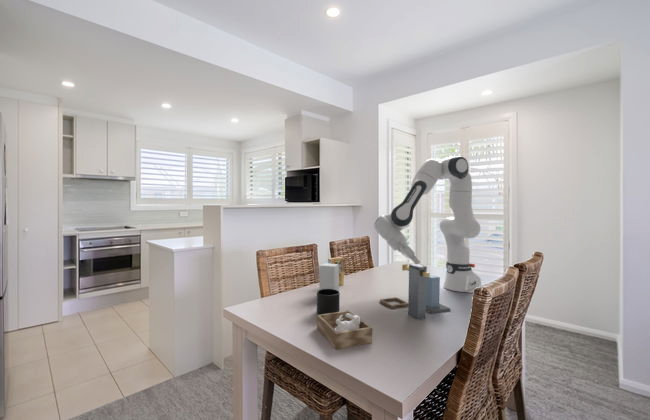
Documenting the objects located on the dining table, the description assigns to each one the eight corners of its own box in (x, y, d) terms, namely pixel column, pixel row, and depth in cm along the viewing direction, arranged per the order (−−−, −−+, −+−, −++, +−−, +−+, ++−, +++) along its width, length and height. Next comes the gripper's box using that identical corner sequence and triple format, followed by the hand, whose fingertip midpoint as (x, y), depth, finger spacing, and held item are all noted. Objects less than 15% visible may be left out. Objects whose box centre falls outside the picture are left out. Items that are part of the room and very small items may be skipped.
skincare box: (339, 295, 152) (339, 264, 152) (333, 298, 146) (333, 266, 146) (324, 292, 156) (324, 262, 155) (318, 296, 150) (318, 264, 150)
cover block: (432, 303, 138) (432, 274, 138) (439, 306, 134) (439, 277, 134) (424, 304, 136) (424, 275, 136) (431, 307, 132) (431, 277, 132)
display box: (348, 323, 117) (349, 310, 117) (372, 342, 101) (372, 327, 101) (317, 328, 112) (317, 315, 112) (336, 349, 96) (336, 333, 96)
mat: (430, 302, 143) (430, 299, 143) (450, 310, 132) (450, 308, 132) (413, 304, 139) (413, 302, 139) (432, 313, 128) (432, 311, 128)
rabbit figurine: (365, 334, 108) (365, 307, 108) (368, 344, 101) (368, 316, 100) (331, 334, 108) (331, 307, 108) (332, 344, 101) (332, 316, 100)
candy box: (339, 283, 174) (339, 256, 174) (344, 284, 171) (344, 257, 171) (327, 285, 169) (327, 258, 168) (332, 287, 166) (332, 259, 165)
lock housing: (415, 313, 128) (416, 263, 128) (425, 318, 123) (426, 266, 122) (408, 314, 127) (409, 264, 126) (417, 319, 121) (418, 267, 121)
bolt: (406, 269, 133) (406, 264, 133) (430, 277, 119) (430, 271, 119) (402, 270, 132) (402, 264, 132) (425, 278, 118) (425, 272, 118)
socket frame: (396, 299, 146) (396, 297, 146) (409, 306, 137) (409, 303, 137) (379, 301, 142) (379, 299, 142) (391, 308, 133) (391, 306, 133)
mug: (343, 309, 132) (343, 288, 132) (335, 319, 121) (335, 296, 121) (323, 306, 135) (323, 286, 135) (313, 315, 124) (313, 294, 124)
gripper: (403, 236, 143) (424, 258, 139) (403, 240, 163) (422, 260, 159) (393, 245, 144) (414, 268, 139) (394, 248, 163) (413, 268, 159)
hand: (418, 263), depth 149 cm, fingers open, 8 cm apart
